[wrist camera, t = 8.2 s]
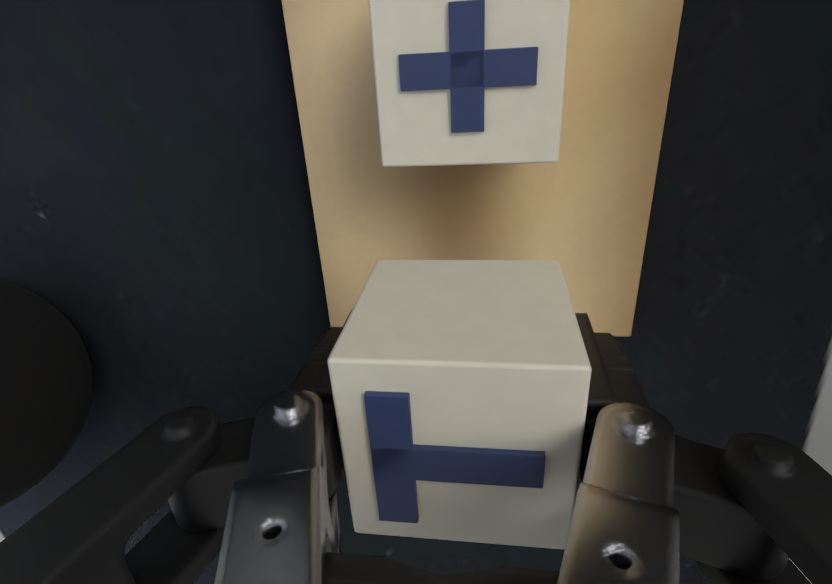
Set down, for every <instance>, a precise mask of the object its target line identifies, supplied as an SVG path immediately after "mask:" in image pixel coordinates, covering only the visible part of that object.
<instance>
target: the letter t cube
mask: <svg viewBox="0 0 832 584" xmlns="http://www.w3.org/2000/svg"><path fill="white" fill-rule="evenodd" d="M327 362H328V368H329V374H330V381H331V387H332V393H333V400H334V406H335V412H336V418H337V425H338V431H339V437H340V443H341V450H342V456H343V462H344V468H345V475H346V481H347V487H348V494H349V500H350V506H351V512H352V519H353V525H354V530H355V532H357V533H368V534H380V535H392V536H405V537H417V538H430V539H442V540H455V541H467V542H479V543H492V544H504V545H517V546H529V547H542V548H554V549H565V547H566V542H567V538H568V533H569V529H570V525H571V520H572V516H573V511H574V507H575V501H576V493H577V485H578V476H579V468H580V460H581V452H582V444H583V436H584V428H585V420H586V412H587V403H588V395H589V387H590V379H591V371H592V368H591V365H590V362H589V358H588V355H587V352H586V348H585V345H584V342H583V338H582V335H581V332H580V329H579V325H578V322H577V319H576V315H575V312H574V309H573V305H572V302H571V299H570V295H569V292H568V289H567V286H566V282H565V279H564V276H563V272H562V269H561V266H560V263H559V261H557V260H378V261H377V262H376V264H375V266H374V268H373V270H372V272H371V274H370V276H369V278H368V280H367V282H366V284H365V286H364V288H363V290H362V292H361V294H360V296H359V298H358V300H357V302H356V304H355V306H354V308H353V310H352V312H351V314H350V316H349V318H348V320H347V322H346V324H345V326H344V328H343V330H342V332H341V334H340V335H339V337H338V339H337V341H336V343H335V345H334V347H333V349H332V351H331V353H330V355H329V357H328V360H327Z"/></svg>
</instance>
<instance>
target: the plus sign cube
mask: <svg viewBox="0 0 832 584" xmlns="http://www.w3.org/2000/svg"><path fill="white" fill-rule="evenodd" d="M368 4H369V16H370V28H371V40H372V52H373V64H374V75H375V87H376V99H377V111H378V123H379V135H380V146H381V158H382V165H383V166H384V167H409V166H449V165H489V164H528V163H556V162H558V160H559V152H560V138H561V124H562V110H563V95H564V81H565V67H566V53H567V39H568V25H569V11H570V0H368Z"/></svg>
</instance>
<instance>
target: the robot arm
mask: <svg viewBox="0 0 832 584" xmlns="http://www.w3.org/2000/svg"><path fill="white" fill-rule="evenodd" d="M352 310H353V309H352ZM352 310H351V311H350V313H349V315H348V317H347V319H346V321H345V323H344V325H343V327H331V328H330V329H329V330H327V331H326V332H325V333H323V334H322V335H321V336H319V338H318V339H317V341H316V343H315V345H314V346H313V348H312V351H311V352H310V353H309V355H308V357H307V361H305V362H304V364H303V366H302V367H301V369H300V371H299V373H298V375H297V376H296V378H295V380H294V382H293V383H292V385H291V387H290V389H289V390H288V391H285V392H281V393H278V394H276V395H274V396H272V397H270V398H269V399H267V400H266V401H265V402H264V403H262V404H261V406H260V407H259V408H258V410H257V412H256V416H255V417H254V418H250V419H246V420H240V421H235V422H229V423H224V424H218V421H217V418H216V415H215V413H214V412H213V411H212V410H210V409H208V408H205V407H187V408H182V409H179V410H176V411H173V412H171V413H169V414H166V415H165V416H163V417H161V418H160V419H158V420H157V421H156V422H154V423H153V424H152V425H151V426H149V427H148V428H147V429H145V430H144V431H143V432H142V433H140V434H139V435H138V436H136V437H135V438H134V439H133V440H131V441H130V442H129V443H127V444H126V445H125V446H124V447H122V448H121V449H120V450H119V451H117V452H116V453H115V454H113V455H112V456H111V457H110V458H108V459H107V460H106V461H104V462H103V463H102V464H101V465H99V466H98V467H97V468H95V469H94V470H93V471H92V472H90V473H89V474H88V475H86V476H85V477H84V478H83V479H81V480H80V481H79V482H77V483H76V484H75V485H74V486H72V487H71V488H70V489H69V490H67V491H66V492H65V493H63V494H62V495H61V496H60V497H58V498H57V499H56V500H54V501H53V502H52V503H51V504H49V505H48V506H47V507H45V508H44V509H43V510H42V511H40V512H39V513H38V514H36V515H35V516H34V517H33V518H31V519H30V520H29V521H27V522H26V523H25V524H24V525H22V526H21V527H20V528H18V529H17V530H16V531H15V532H13V533H12V534H11V535H10V536H8V537H7V538H6V539H4V540H3V541H2V542H1V543H0V584H193V582H194V581H195V580H196V579H197V578H198V576H199V575H200V574H201V573H202V572H203V570H204V569H205V568H206V567H207V566H208V565H209V563H210V562H211V561H212V560H213V559H214V557H215V556H216V555H217V554H218V553H219V552H220V556H219V562H218V567H217V572H216V578H215V583H214V584H679V555H682V556H685V557H688V558H691V559H694V560H697V562H698V565H699V567H700V568H701V570H702V572H703V573H704V575H705V576H706V577H707V579H708V580H709V582H710V583H711V584H811V583H812V584H832V476H831V475H830V474H829V473H828V472H826V471H825V470H824V469H823V468H822V467H821V466H820V465H819V464H817V463H816V462H815V461H814V460H813V459H812V458H810V457H809V456H808V455H807V454H806V453H804V452H803V451H802V450H800V449H799V448H797V447H795V446H794V445H792V444H790V443H788V442H786V441H783V440H781V439H778V438H775V437H772V436H768V435H764V434H757V433H744V434H739V435H736V436H734V437H732V438H730V439H729V440H728V442H727V443H726V446H725V450H724V449H720V448H717V447H713V446H709V445H705V444H701V443H697V442H694V441H691V440H688V439H685V438H683V437H680V436H678V435H676V434H675V431H674V428H673V426H672V424H671V423H670V422H669V421H668V419H667V418H666V417H664V416H663V415H662V414H660V413H659V412H657V411H655V410H653V409H651V408H650V407H649V404H648V402H647V400H646V397H645V395H644V393H643V390H642V388H641V386H640V383H639V381H638V379H637V376H636V374H635V372H634V371H633V367H632V365H631V362H630V360H628V355H627V353H626V351H625V348H624V346H623V344H622V343H621V342H619V341H618V340H617V339H616V338H615V337H613V336H612V335H611V334H610V333H595V332H594V331H593V328H592V326H591V323H590V320H589V317H588V314H587V313H575V315H576V319H577V322H578V325H579V329H580V332H581V335H582V338H583V342H584V345H585V348H586V352H587V355H588V358H589V362H590V365H591V368H592V371H591V379H590V387H589V395H588V403H587V412H586V420H585V428H584V436H583V444H582V452H581V460H580V468H579V476H578V485H577V489H579V490H578V494H577V498H576V503H575V507H574V511H573V516H572V520H571V525H570V529H569V533H568V538H567V542H566V547H565V551H564V555H563V560H562V564H561V569H560V572H557V571H545V570H534V569H522V568H510V567H498V568H492V569H486V570H480V571H474V572H467V573H461V574H455V575H449V576H437V575H433V574H430V573H428V572H425V571H422V570H419V569H416V568H413V567H411V566H408V565H405V564H402V563H399V562H397V561H394V560H391V559H388V558H385V557H382V556H370V555H359V554H347V553H341V541H340V521H339V502H338V493H337V485H338V482H339V479H340V476H341V474H345V468H344V462H343V456H342V450H341V443H340V437H339V431H338V425H337V418H336V412H335V406H334V400H333V393H332V387H331V381H330V374H329V368H328V362H327V360H328V357H329V355H330V353H331V351H332V349H333V347H334V345H335V343H336V341H337V339H338V337H339V335H340V334H341V332H342V330H343V328H344V326H345V324H346V322H347V320H348V318H349V316H350V314H351V312H352ZM167 500H168V502H169V504H170V507H171V511H170V512H169V513H168V514H167V515H166V516H165V517H164V518H163V519H162V520H161V521H160V522H159V523H158V524H157V525H156V526H155V527H154V528H153V529H152V530H151V531H150V532H149V533H148V534H147V535H146V536H145V537H143V538H142V539H141V540H140V541H139V542H138V543H137V544H136V545H135V546H134V547H133V548H132V549H131V550H130V551H129V552H128V553H127V554H126V555H125V556H124V551H125V547H126V544H127V542H128V540H129V538H130V537H131V535H132V534H133V533H134V531H135V530H136V529H137V528H138V527H139V526H140V525H142V524H143V523H144V522H145V521H146V520H147V519H148V518H149V517H150V516H151V515H152V514H153V513H154V512H155V511H156V510H157V509H158V508H159V507H160V506H161V505H162V504H163V503H165V502H166V501H167ZM220 550H221V551H220ZM789 558H790V559H791V560H792V561H793V562H794V564H795V565H796V566H797V567H798V568H799V569H800V570H801V571H802V572H803V574H804V575H805V576H806V577H807V578H808V579H809V580H810V581H811V583H810V582H809V581H808V580H807V579H806V578H805V576H804V575H803V574H802V573H801V572H800V571H799V570H798V569H797V568H796V566H795V565H794V564H793V563H792V562H791V561H790V560H789Z"/></svg>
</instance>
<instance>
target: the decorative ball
mask: <svg viewBox="0 0 832 584" xmlns="http://www.w3.org/2000/svg"><path fill="white" fill-rule="evenodd" d="M91 397H92V370H91V364H90V360H89V356H88V354H87V351H86V348H85V346H84V344H83V341H82V340H81V338H80V336H79V334H78V333H77V331H76V330H75V328H74V327H73V326H72V324H71V323H70V322H69V321H68V320H67V319H66V317H65V316H64V315H63V314H62V313H61V312H60V311H58V310H57V309H56V308H55V307H54V306H52V305H51V304H50V303H48V302H47V301H46V300H44V299H43V298H41V297H40V296H38V295H36V294H34V293H33V292H31V291H29V290H27V289H25V288H23V287H20V286H18V285H16V284H13V283H10V282H7V281H4V280H1V279H0V507H1V506H3V505H5V504H7V503H9V502H11V501H12V500H14V499H15V498H17V497H19V496H20V495H22V494H23V493H25V492H26V491H28V490H29V489H30V488H32V487H33V486H34V485H36V484H37V483H38V482H39V481H41V480H42V479H43V478H44V477H45V476H46V475H47V474H48V473H50V472H51V471H52V470H53V469H54V468H55V467H56V465H57V464H58V463H59V462H60V461H61V460H62V459H63V457H64V456H65V455H66V454H67V452H68V451H69V449H70V448H71V447H72V445H73V444H74V442H75V440H76V439H77V437H78V435H79V433H80V431H81V429H82V427H83V425H84V423H85V420H86V417H87V415H88V411H89V407H90V403H91Z"/></svg>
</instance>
